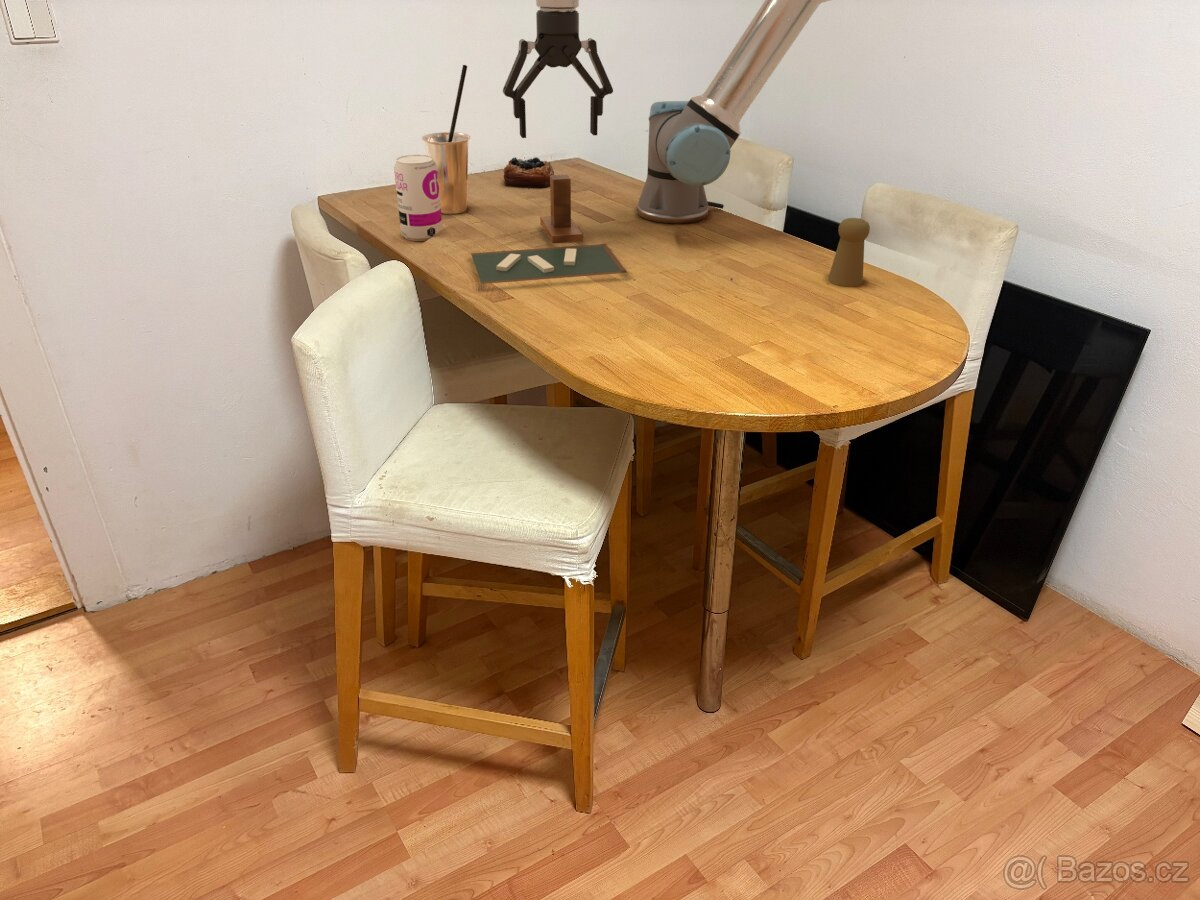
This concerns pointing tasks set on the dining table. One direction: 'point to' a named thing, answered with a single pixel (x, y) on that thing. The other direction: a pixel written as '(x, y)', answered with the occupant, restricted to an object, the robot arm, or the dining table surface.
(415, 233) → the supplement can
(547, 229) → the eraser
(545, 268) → the cream wooden plank
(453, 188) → the copper cup with straw
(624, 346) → the dining table surface
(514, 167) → the pastry
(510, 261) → the cream rectangular block
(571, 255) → the pale wooden block
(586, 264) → the chalkboard
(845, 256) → the brown pawn
